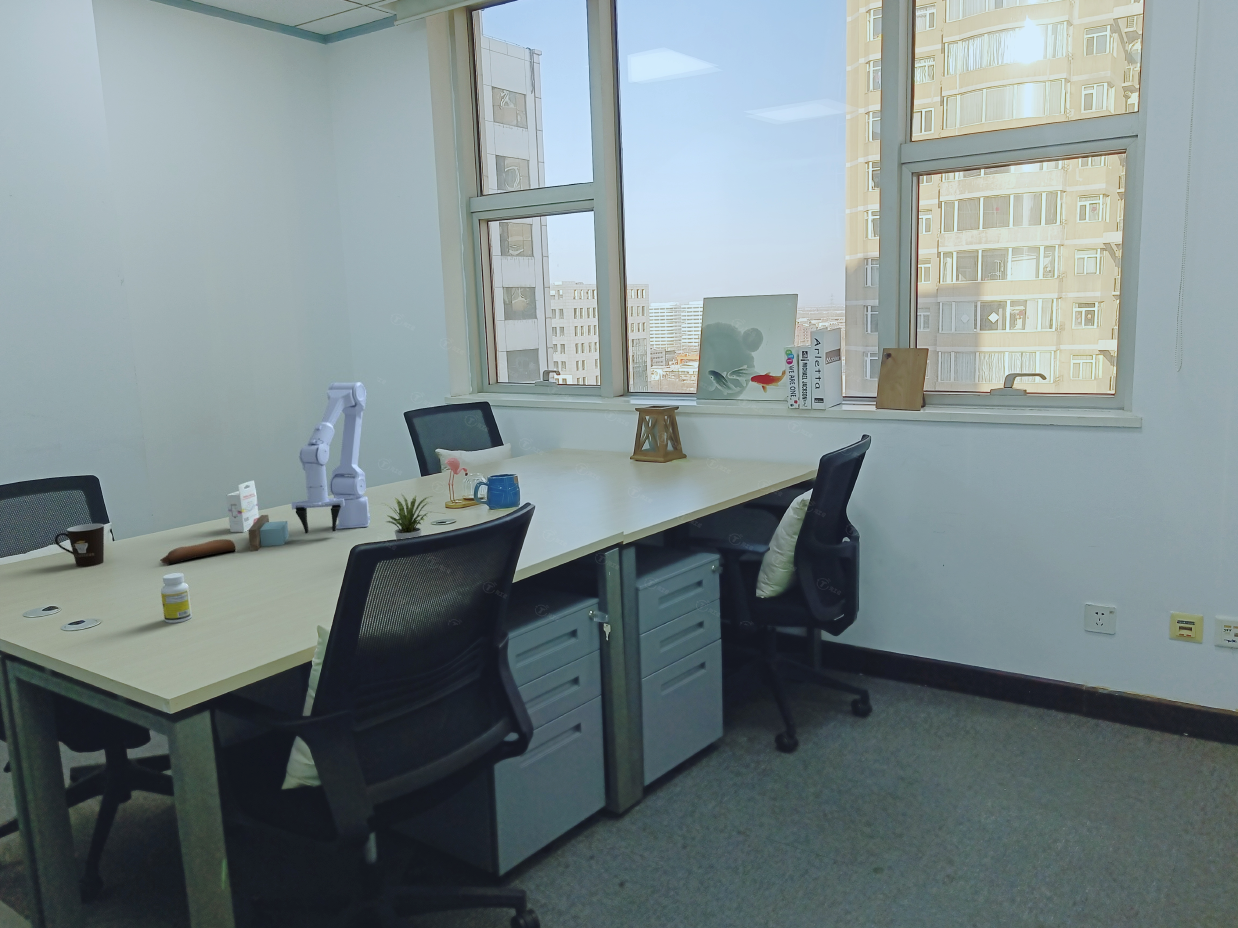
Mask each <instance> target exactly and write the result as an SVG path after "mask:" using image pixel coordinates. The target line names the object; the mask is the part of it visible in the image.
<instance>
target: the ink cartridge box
mask: <svg viewBox="0 0 1238 928" xmlns="http://www.w3.org/2000/svg"><path fill="white" fill-rule="evenodd" d="M248 486H249V487H248ZM245 487H247V488H245ZM237 488H238V491H234V492H231V493H229V494H226V497H225V498H226V504H227V511H228V521H229V522H228V523H229V530H230V533H246V532H248V531H247V530H249V529H250V528H251V526H252V525H253V524H254V523H255V522H256V521H257V519H258V518H259V517H260V516H259V507H258V497H257V489H256V484H255V480H249V481H247V482H243V483H241V484H238V486H237ZM245 531H246V532H245Z"/></svg>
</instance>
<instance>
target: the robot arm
mask: <svg viewBox="0 0 1238 928" xmlns="http://www.w3.org/2000/svg"><path fill="white" fill-rule="evenodd" d="M367 393H368V392H367V390H366V388H365V385H364V384H363V383H362V382H360V381H358V382H357V381H356V382H336V381H335V382H332V383H330V384H329V386H328V390H327V392H326V395H327V400H328V402H327V405H326V407H325V408H326V409H325V411H324V414H323V416H322V421H321V422H319V423H317V424H316V425H315V427H314V428H313V431H312V434H311V435H310V438H309V440H308V442H307V444H305V445H304V446H303V447H301V449H300V452H299V456H298V458H299V462H300V463H301V466H302V470H303V471H304V476H305V486H306V498H307V499H306V500H298V501H292V502H291V503H290V504H291V510H292V511H293V510H295V514H296V515H297V517H298V519H299V520H300V522H301V524H302V527H303V530H304V534H308V533H309V532H310V531H309V524H308V509H316V508H328V507H331V508H330V513H331V524H332V525H331V529H332V532H336V530H338V529H355V528H367V527H369V525H370V521H371V515H370V508H369V507H370V506H369V498H368V496H363V495H364V494H365V492H366V489H367V483H366V472H364V471H363V470H362V469H361V468H360V467H359V458H360V455H359V454H360V446H361V445H360V444H361V435H362V424H363V414H364V411H365V409H366V404H367V403H366V402H367ZM341 413H343V414H344V420H343V421H344V422H343V431H342V439H341V440H342V442H341V450H340V451H341V452H340V459H339V465H338V466H336V468H335V469H333V470H332V473H331V477H330V480H329V483H328V481H327V469H326V464H327V463H328V461H329V458H330V449H331V448H330V446H331V445H330V444H331V443H332V441H333V439H334V435H335V434H336V430H335V428H334V426H335V424H336V423H337V421H338V419H339V417H340V415H341ZM328 489H329V492H330V494H331V495H332V496H333V498H329V493H328Z"/></svg>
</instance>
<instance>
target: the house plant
mask: <svg viewBox="0 0 1238 928" xmlns="http://www.w3.org/2000/svg"><path fill="white" fill-rule="evenodd" d="M400 495H401V496H402V498H403V501H404V504H403V503H402V502H401V501H400V500H399V498H397V497H394V499H395V502H396V505H397V507H398V510H397V508H395V507H394V506H392V507H393V508H392V507H390V506H389V505H388V504H385V503H383V502H382V504H383V505H385V506H387V507H388V508H389V509H390V510H392V511H393V513H394V514H395V515H396V516H397V517H398V518H396V517H394V516H392V515H386V516H387V517H388V518H390V519H391V520H392V521H391V520H386V521H385V523H388V524H393V525H394V526H396V527H397V528H398V529H395V530H394V535H395V539H396V540H397V539H401V538H409V537H417V536H421V537H422V528H420V527H418V525H422V522H423V523H424V521H425V518H424V517H427V515H428V514H429V513H431V511H428V512H427V513H424V514H420V513H421V511H422V510H423V509H424V507H425V506H426V505H428V504H431V503H432V502H433V501H432V502H431V501H429V502H425V501H426V500H427V499H430V498H432V497H433V495H431V496H426V497H424V498H422V499H421V501H419V502H418V504H417V505H416V502H417V499H416V498H417V495H414V496H413V497H412V500H411V501H410V504H409V502H408V500H407V498H406V496H405V495H403V494H402V493H401V494H400ZM424 503H425V504H424ZM422 504H423V505H422ZM421 505H422V506H421ZM415 506H416V507H415ZM420 506H421V507H420ZM419 508H420V509H419ZM417 511H418V513H417ZM416 513H417V515H416ZM415 515H416V516H415ZM419 517H420V519H418V518H419ZM421 521H422V522H421Z"/></svg>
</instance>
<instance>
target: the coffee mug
mask: <svg viewBox="0 0 1238 928" xmlns="http://www.w3.org/2000/svg"><path fill="white" fill-rule="evenodd" d="M66 531H67V533H66V532H61V533H58V534H56V535H55V537H54V543H55V544H56V545H57V547H59V548H61V550H63V551H66V552H68V553H70V554H71V555H73V558H74V561H75V565H76V567H80V568H88V567H93V566H99V565H101V564H104V557H105V555H104V551H105V549H104V548H105V547H104V546H105V543H104V541H105V539H104V537H105V525H104V524H103V523H88V524H86V523H85V524H80V525H75V526H72V527H71V526H70V527H69V528H67V529H66ZM60 536H65V537H66V538H68V540H69V542H70V547H71V550H70V549H68V548H66V547H64V546H62V544H61V543H59V541H58V539H59V537H60Z"/></svg>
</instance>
